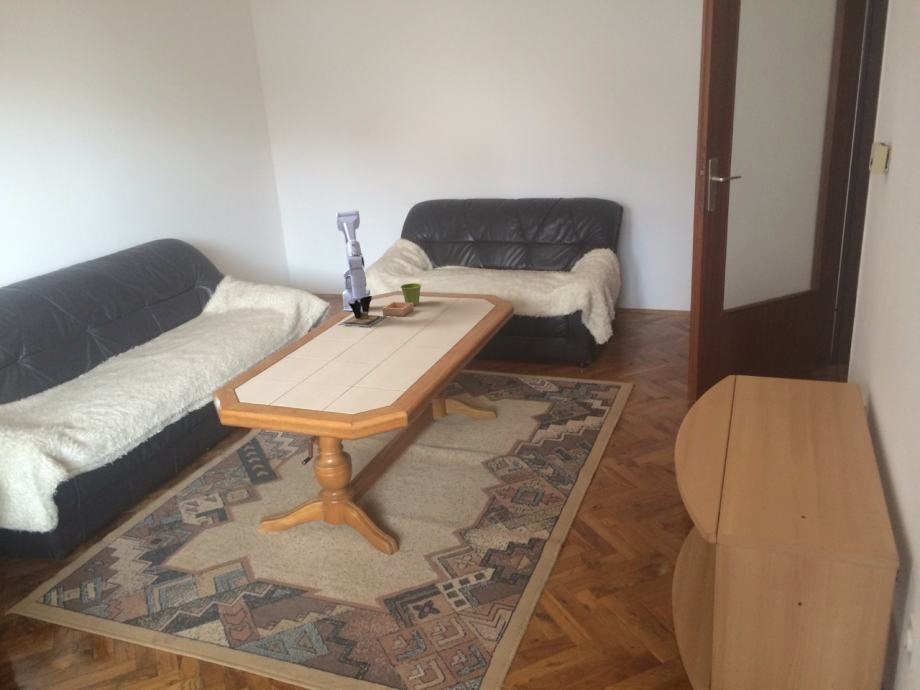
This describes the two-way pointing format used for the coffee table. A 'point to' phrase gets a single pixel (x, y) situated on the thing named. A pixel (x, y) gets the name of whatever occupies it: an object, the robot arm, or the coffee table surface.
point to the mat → (364, 325)
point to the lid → (363, 319)
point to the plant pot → (411, 293)
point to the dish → (398, 309)
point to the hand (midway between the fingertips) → (362, 315)
